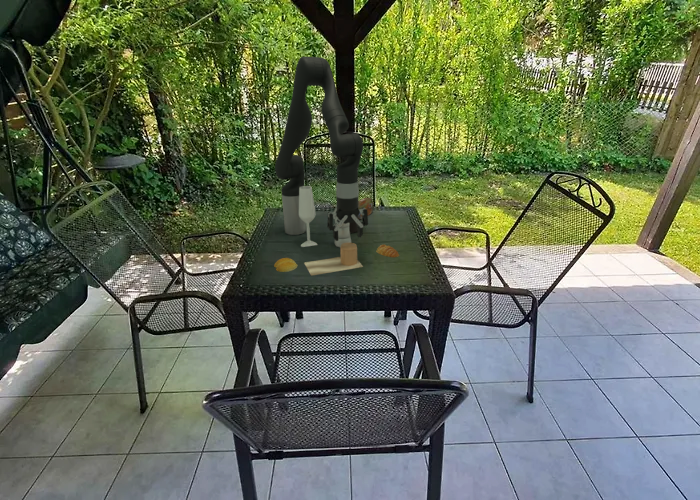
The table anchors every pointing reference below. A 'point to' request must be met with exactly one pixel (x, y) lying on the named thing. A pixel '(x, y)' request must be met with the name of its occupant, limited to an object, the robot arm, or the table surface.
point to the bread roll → (285, 265)
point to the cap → (348, 254)
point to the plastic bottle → (342, 233)
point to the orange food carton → (365, 206)
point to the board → (328, 266)
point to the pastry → (387, 251)
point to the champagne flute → (306, 210)
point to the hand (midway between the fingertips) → (347, 238)
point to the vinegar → (353, 227)
